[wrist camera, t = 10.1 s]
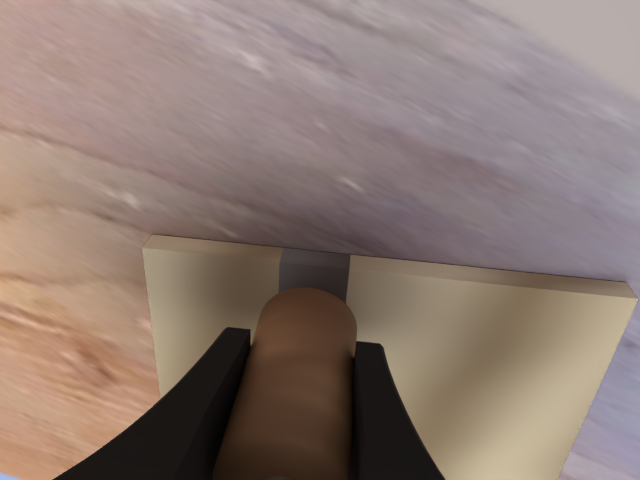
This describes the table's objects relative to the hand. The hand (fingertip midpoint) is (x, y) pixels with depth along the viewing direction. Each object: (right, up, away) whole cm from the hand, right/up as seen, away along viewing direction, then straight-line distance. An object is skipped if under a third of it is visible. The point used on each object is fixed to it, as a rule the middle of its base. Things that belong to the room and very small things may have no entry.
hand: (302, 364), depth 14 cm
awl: (0, +1, +1) cm, 2 cm away
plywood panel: (+2, -2, +5) cm, 6 cm away
